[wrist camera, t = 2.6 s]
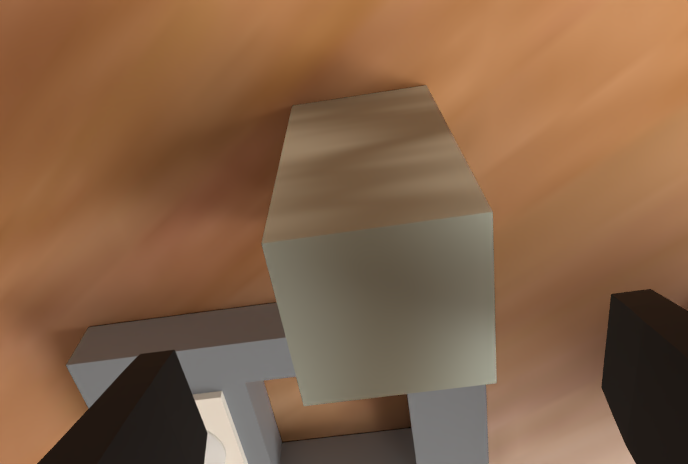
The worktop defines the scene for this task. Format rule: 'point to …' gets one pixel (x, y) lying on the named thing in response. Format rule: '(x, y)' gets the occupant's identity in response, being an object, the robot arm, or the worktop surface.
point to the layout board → (252, 399)
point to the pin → (380, 251)
